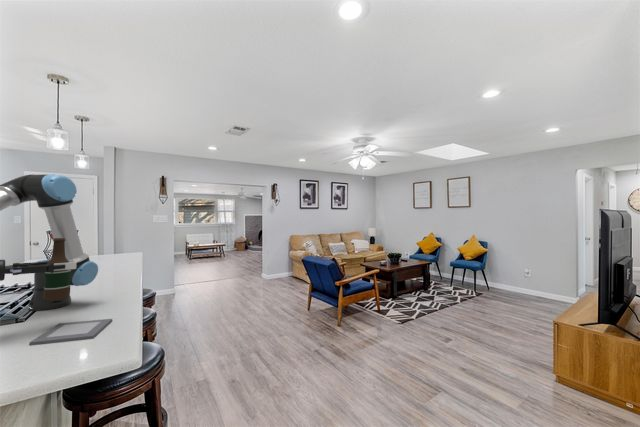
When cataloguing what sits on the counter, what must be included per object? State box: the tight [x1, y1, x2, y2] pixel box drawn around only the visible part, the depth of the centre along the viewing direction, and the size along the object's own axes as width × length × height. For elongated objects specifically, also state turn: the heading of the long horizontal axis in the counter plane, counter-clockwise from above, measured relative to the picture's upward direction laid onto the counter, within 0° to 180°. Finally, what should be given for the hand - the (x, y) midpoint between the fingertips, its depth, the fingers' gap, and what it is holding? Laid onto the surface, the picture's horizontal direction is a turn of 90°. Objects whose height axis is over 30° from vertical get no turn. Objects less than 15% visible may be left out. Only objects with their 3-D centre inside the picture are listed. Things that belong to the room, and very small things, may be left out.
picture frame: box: [28, 318, 113, 346], centre depth 106 cm, size 18×18×1 cm
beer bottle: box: [44, 238, 71, 301], centre depth 110 cm, size 8×8×24 cm
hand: (74, 264), depth 114 cm, fingers closed on beer bottle, 7 cm apart
